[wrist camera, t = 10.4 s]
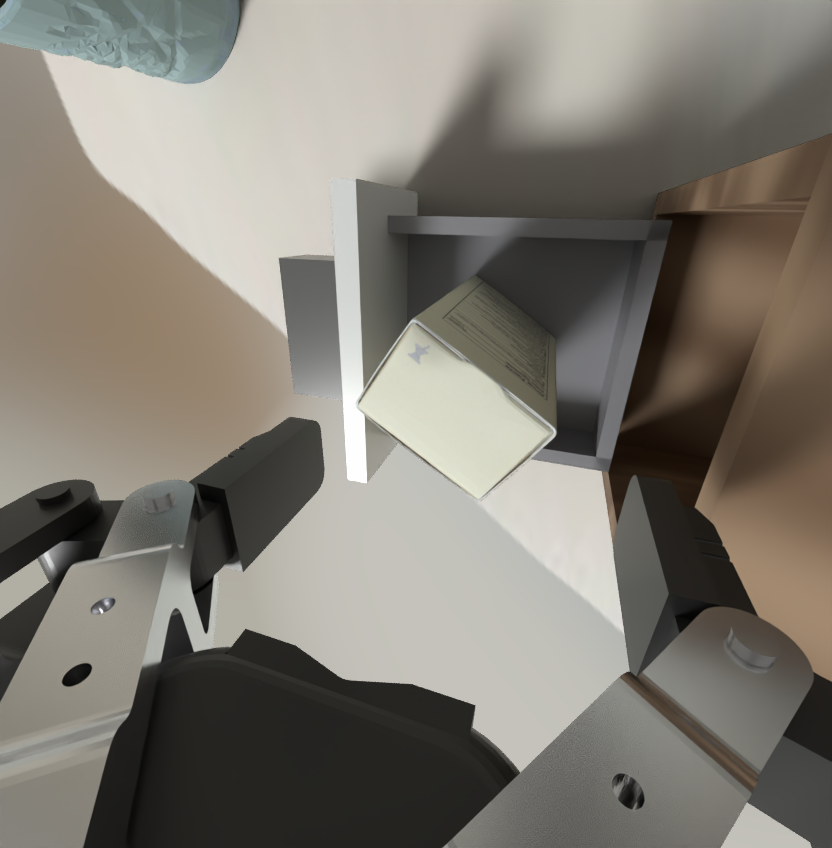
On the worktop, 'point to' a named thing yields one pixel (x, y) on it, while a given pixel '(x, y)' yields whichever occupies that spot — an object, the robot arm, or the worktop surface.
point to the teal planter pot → (129, 33)
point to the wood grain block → (746, 381)
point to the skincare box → (468, 388)
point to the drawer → (446, 270)
